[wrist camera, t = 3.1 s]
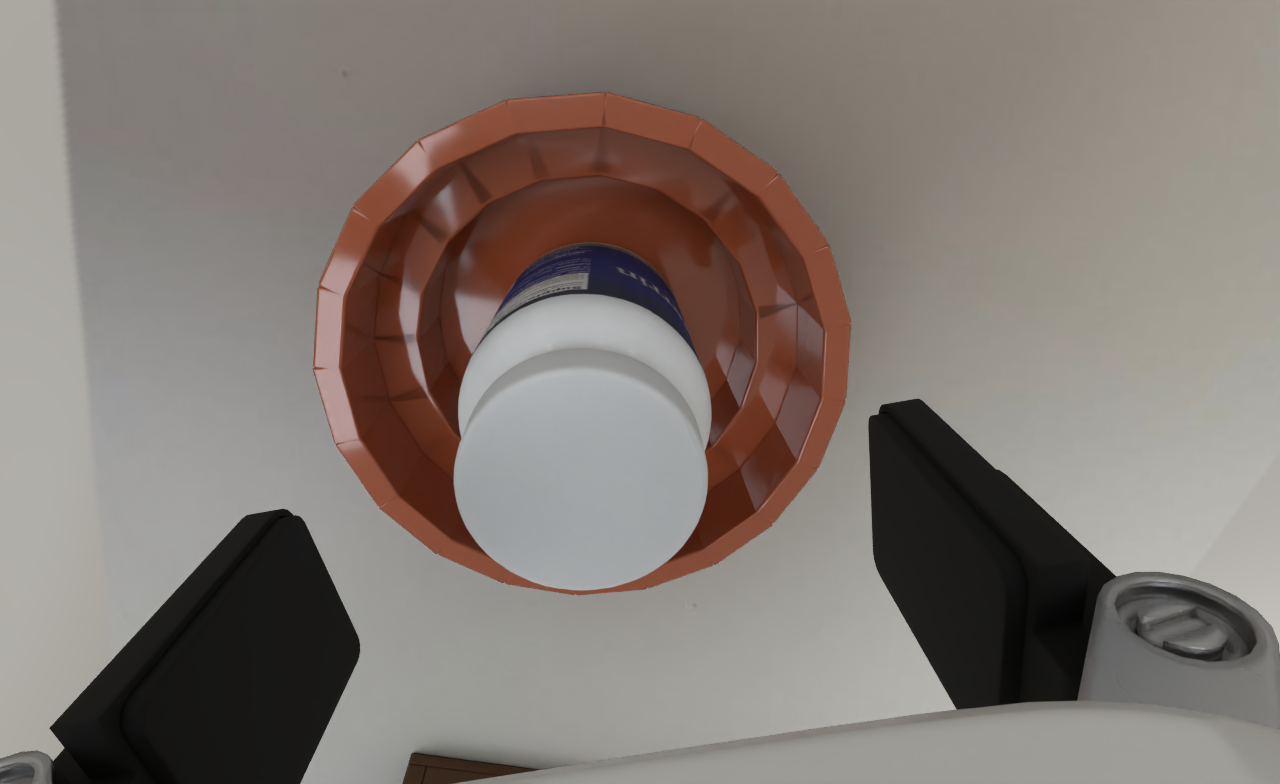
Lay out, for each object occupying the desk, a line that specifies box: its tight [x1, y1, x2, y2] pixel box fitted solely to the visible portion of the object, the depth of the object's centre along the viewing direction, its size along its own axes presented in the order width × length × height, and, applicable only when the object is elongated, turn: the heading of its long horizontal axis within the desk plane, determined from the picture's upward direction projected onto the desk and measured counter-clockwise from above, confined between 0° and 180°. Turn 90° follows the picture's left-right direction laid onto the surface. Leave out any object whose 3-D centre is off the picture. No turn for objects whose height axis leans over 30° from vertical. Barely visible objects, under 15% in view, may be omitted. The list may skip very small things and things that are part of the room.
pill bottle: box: [454, 242, 711, 590], centre depth 16 cm, size 6×6×10 cm
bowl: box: [313, 92, 851, 595], centre depth 19 cm, size 13×13×6 cm
